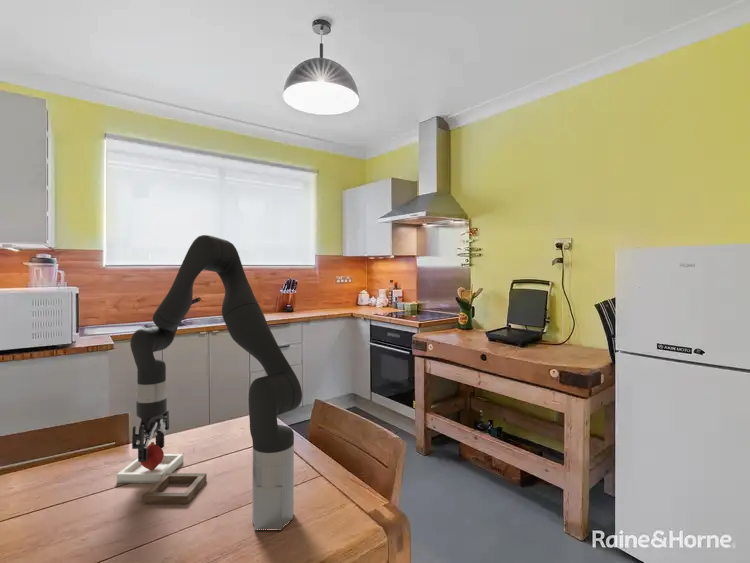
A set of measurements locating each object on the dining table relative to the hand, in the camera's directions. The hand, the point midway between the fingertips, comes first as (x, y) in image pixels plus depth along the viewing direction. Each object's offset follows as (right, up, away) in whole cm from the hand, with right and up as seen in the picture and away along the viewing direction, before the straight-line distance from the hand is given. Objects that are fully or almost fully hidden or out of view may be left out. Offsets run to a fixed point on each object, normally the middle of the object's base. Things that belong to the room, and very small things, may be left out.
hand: (151, 454), depth 111 cm
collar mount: (+12, -5, -10) cm, 16 cm away
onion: (0, -5, 0) cm, 5 cm away
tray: (0, -5, 0) cm, 5 cm away
